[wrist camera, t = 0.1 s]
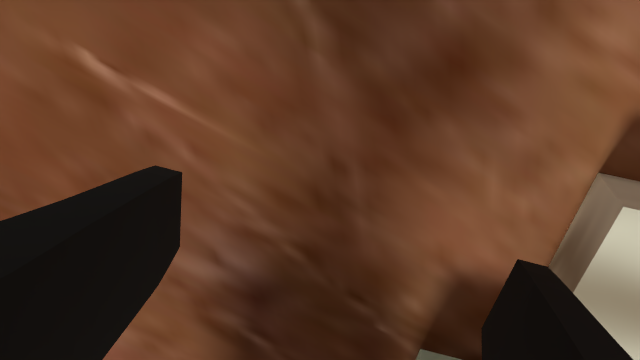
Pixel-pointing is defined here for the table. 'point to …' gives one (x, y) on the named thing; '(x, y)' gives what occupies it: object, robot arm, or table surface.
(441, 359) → the sage block
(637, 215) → the cream block
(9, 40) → the table surface
